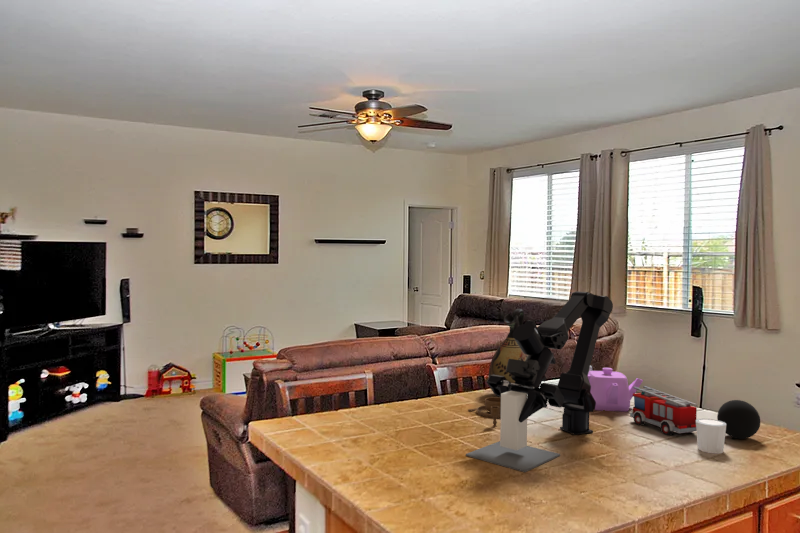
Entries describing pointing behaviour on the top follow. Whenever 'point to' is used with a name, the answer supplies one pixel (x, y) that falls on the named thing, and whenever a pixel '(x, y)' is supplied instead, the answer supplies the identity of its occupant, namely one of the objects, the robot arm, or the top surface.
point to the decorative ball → (739, 419)
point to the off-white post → (513, 420)
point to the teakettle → (611, 390)
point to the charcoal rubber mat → (513, 456)
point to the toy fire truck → (663, 411)
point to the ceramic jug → (508, 347)
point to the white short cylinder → (710, 435)
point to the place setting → (490, 408)
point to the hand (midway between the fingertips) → (510, 419)
